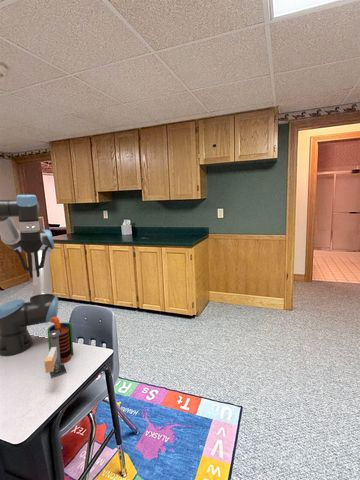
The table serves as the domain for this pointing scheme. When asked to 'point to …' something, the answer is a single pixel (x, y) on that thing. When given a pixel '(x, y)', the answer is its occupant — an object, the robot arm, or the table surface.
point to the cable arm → (51, 360)
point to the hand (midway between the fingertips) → (35, 284)
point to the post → (58, 367)
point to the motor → (62, 339)
